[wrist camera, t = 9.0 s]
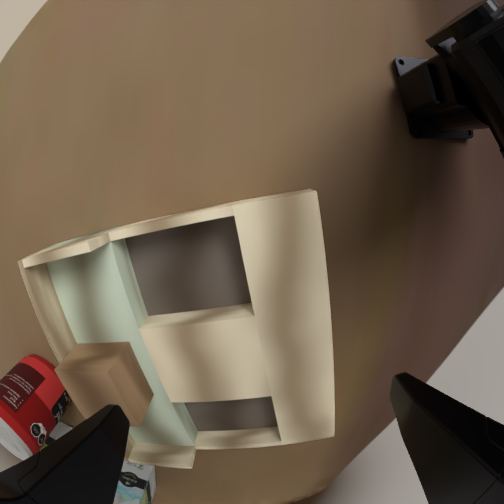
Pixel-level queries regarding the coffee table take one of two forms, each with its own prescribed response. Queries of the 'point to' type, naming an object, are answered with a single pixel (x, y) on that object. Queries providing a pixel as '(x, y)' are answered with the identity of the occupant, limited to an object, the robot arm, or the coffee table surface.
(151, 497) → the tea box
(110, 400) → the walnut block
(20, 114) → the coffee table surface
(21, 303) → the coffee table surface
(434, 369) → the coffee table surface
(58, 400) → the canned food
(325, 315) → the board
